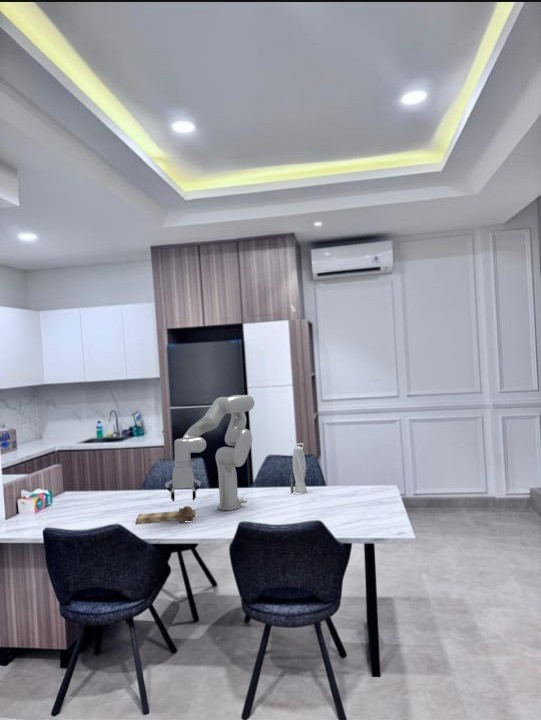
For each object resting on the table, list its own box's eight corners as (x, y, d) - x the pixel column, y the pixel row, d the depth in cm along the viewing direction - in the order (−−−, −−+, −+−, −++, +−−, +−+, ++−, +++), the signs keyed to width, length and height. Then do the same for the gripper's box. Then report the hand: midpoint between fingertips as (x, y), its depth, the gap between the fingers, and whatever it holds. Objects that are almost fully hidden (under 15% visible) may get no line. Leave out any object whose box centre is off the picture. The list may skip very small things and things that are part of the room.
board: (195, 514, 245) (195, 509, 245) (194, 519, 237) (194, 514, 237) (139, 519, 242) (139, 514, 242) (136, 524, 234) (136, 518, 234)
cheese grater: (300, 490, 284) (298, 442, 285) (310, 492, 278) (307, 443, 278) (290, 493, 278) (287, 444, 279) (299, 495, 272) (296, 445, 273)
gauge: (193, 515, 243) (192, 501, 243) (192, 522, 232) (191, 507, 232) (181, 516, 243) (180, 502, 243) (179, 523, 232) (178, 508, 232)
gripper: (201, 462, 239) (202, 497, 238) (165, 464, 237) (166, 499, 236) (200, 464, 232) (201, 501, 231) (163, 466, 230) (164, 503, 229)
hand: (183, 500), depth 234 cm, fingers open, 9 cm apart
